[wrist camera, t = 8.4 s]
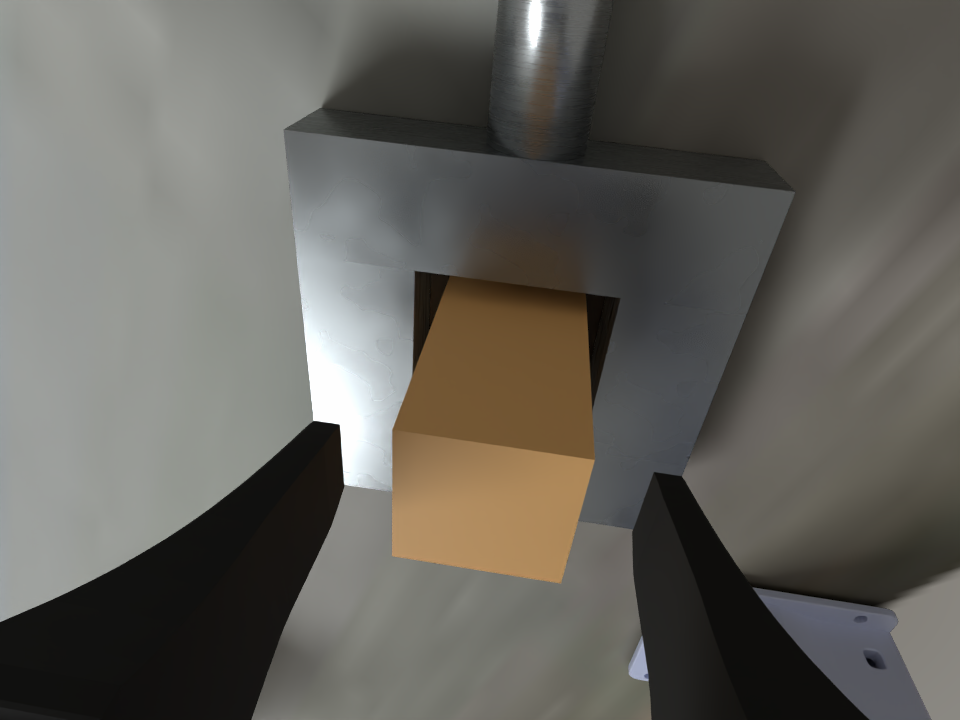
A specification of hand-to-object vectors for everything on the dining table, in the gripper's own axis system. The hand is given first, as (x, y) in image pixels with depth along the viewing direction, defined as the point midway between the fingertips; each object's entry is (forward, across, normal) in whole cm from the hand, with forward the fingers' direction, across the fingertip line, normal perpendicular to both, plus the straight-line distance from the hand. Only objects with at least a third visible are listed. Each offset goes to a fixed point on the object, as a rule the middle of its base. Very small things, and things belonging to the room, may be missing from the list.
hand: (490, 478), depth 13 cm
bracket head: (+7, 0, -4) cm, 8 cm away
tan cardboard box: (+7, 0, 0) cm, 7 cm away
